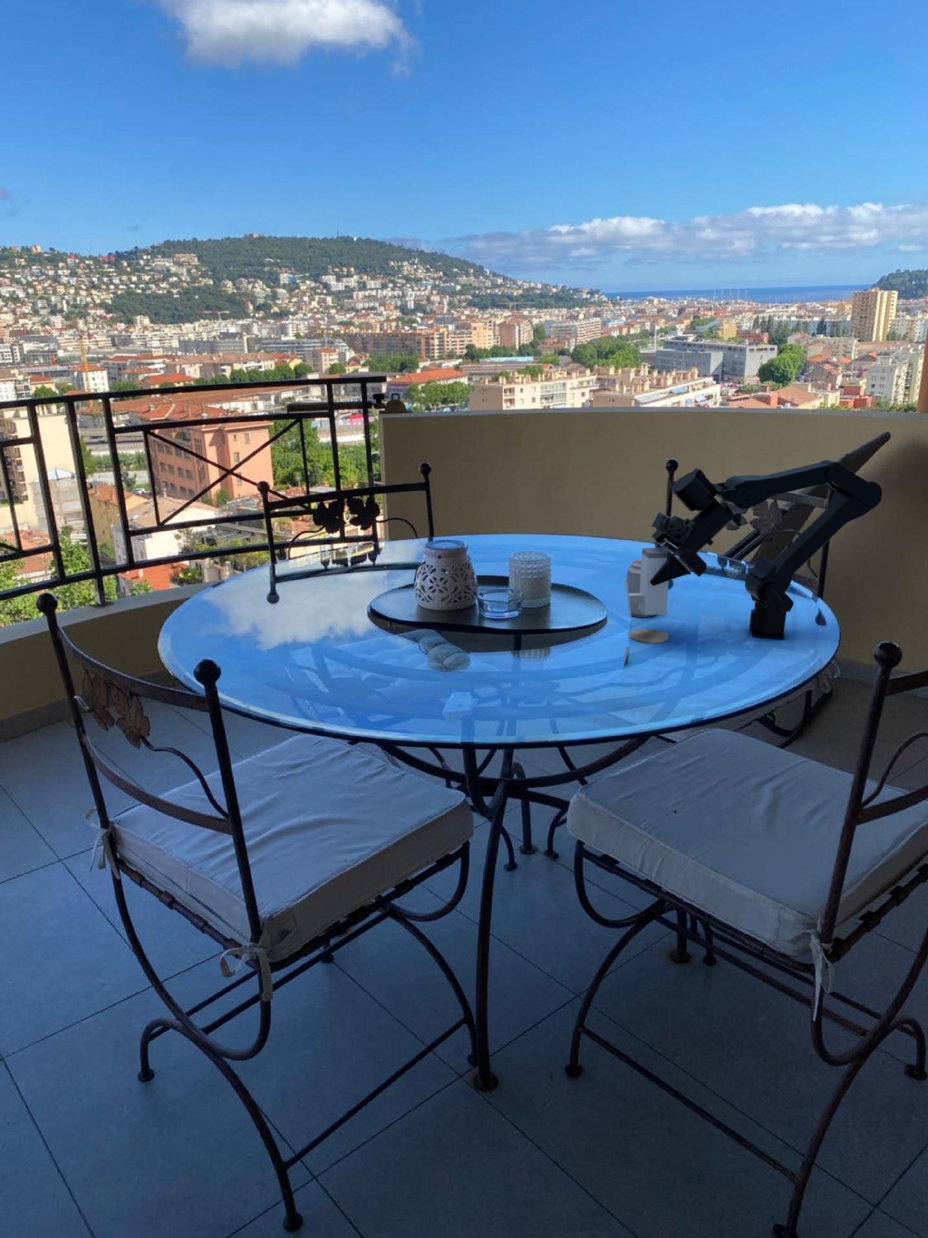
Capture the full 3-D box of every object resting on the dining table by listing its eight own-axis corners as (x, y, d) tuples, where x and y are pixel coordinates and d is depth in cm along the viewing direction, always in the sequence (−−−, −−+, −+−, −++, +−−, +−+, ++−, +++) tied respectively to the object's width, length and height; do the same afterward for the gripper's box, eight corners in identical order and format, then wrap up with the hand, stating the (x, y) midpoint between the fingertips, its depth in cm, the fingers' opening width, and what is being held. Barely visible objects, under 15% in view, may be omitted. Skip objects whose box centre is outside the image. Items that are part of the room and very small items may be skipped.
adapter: (659, 607, 173) (663, 547, 169) (666, 614, 169) (670, 552, 165) (624, 608, 173) (628, 548, 169) (630, 615, 169) (634, 553, 164)
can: (658, 619, 185) (662, 567, 181) (624, 617, 186) (627, 566, 182) (657, 609, 191) (661, 559, 188) (625, 607, 193) (628, 557, 189)
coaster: (669, 632, 176) (669, 630, 176) (667, 645, 169) (667, 643, 169) (631, 629, 178) (632, 627, 178) (628, 641, 171) (628, 639, 171)
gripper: (663, 491, 173) (610, 544, 175) (695, 508, 155) (635, 566, 158) (697, 527, 176) (643, 578, 179) (732, 547, 158) (672, 604, 161)
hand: (647, 580), depth 169 cm, fingers closed on adapter, 4 cm apart
